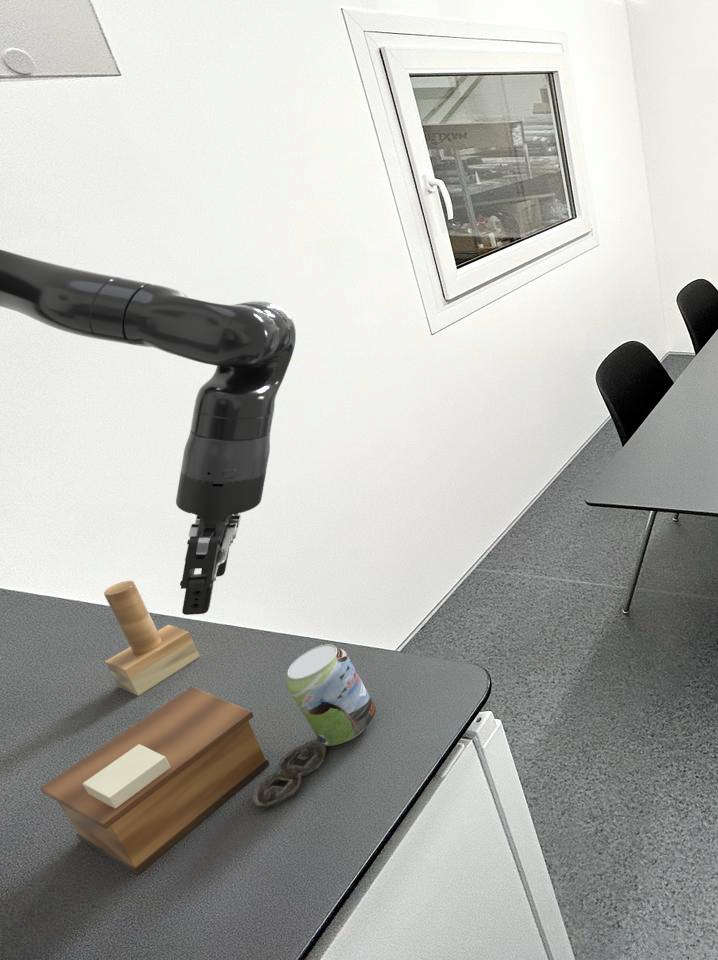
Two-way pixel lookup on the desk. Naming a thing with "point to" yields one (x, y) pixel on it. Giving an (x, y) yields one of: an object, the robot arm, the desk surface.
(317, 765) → the corroded twin loop
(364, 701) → the beverage can
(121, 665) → the wooden stamp
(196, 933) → the desk surface
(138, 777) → the cream soap bar
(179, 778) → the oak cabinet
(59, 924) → the desk surface
